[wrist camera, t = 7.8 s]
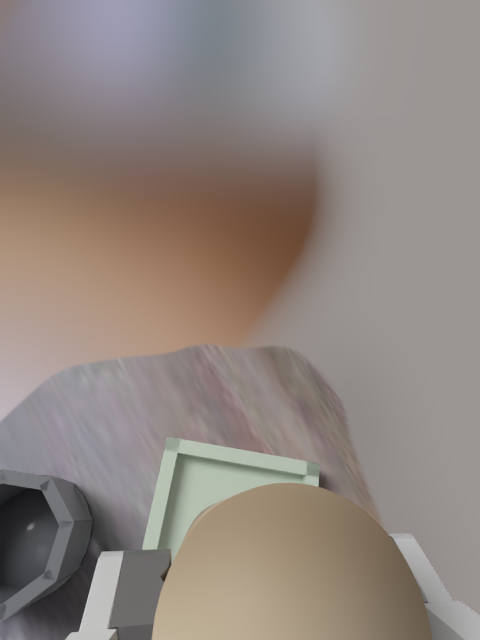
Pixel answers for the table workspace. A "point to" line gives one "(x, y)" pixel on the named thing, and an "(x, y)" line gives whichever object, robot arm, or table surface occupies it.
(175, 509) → the tray
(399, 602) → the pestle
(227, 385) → the table surface
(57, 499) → the cup
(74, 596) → the table surface
